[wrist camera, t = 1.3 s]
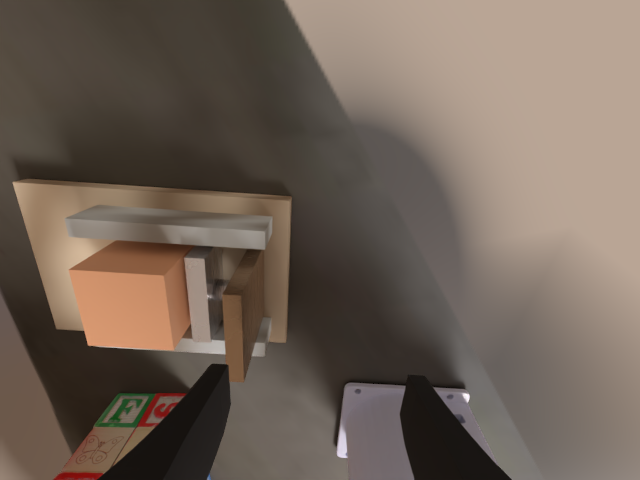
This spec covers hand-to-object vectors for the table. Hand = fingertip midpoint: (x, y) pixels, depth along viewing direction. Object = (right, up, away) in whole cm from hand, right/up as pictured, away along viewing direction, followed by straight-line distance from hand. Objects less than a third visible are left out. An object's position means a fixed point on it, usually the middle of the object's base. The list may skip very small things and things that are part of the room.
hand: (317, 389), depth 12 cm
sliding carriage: (-5, +3, +7) cm, 10 cm away
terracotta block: (-10, +4, +8) cm, 13 cm away
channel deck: (-10, +4, +9) cm, 14 cm away
